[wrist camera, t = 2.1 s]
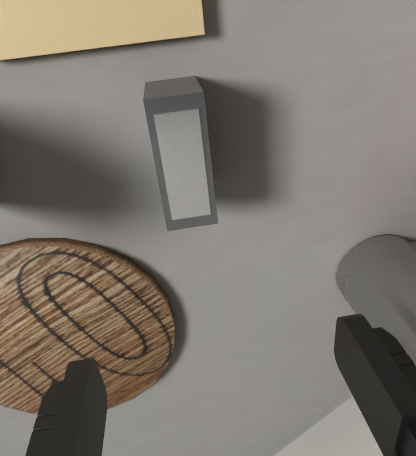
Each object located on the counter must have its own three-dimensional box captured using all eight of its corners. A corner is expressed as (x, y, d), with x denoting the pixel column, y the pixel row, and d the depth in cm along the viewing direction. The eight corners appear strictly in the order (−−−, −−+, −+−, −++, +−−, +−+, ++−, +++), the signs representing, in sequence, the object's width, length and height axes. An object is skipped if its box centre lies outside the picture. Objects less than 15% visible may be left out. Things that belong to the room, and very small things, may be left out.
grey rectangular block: (194, 75, 31) (204, 92, 25) (207, 187, 36) (218, 224, 30) (145, 82, 31) (143, 100, 25) (165, 193, 36) (167, 232, 30)
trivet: (62, 427, 51) (59, 440, 50) (-116, 321, 39) (-127, 335, 38) (215, 337, 46) (217, 349, 45) (65, 187, 35) (61, 196, 33)
